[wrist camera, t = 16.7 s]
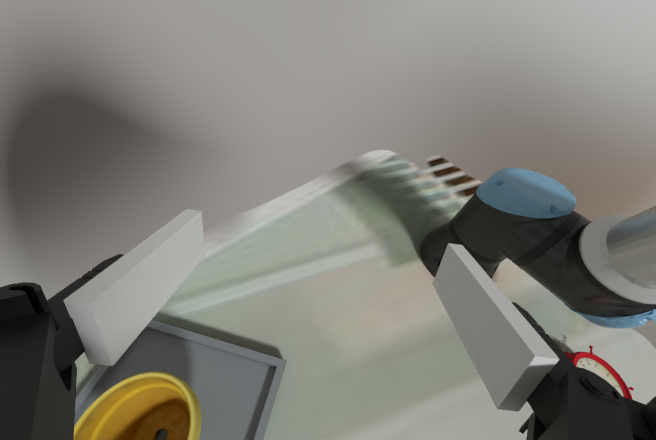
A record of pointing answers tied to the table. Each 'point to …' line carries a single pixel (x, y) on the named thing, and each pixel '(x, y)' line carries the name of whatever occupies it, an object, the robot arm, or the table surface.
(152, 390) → the plant pot
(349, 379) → the table surface
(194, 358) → the tray
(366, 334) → the table surface
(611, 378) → the alarm clock
